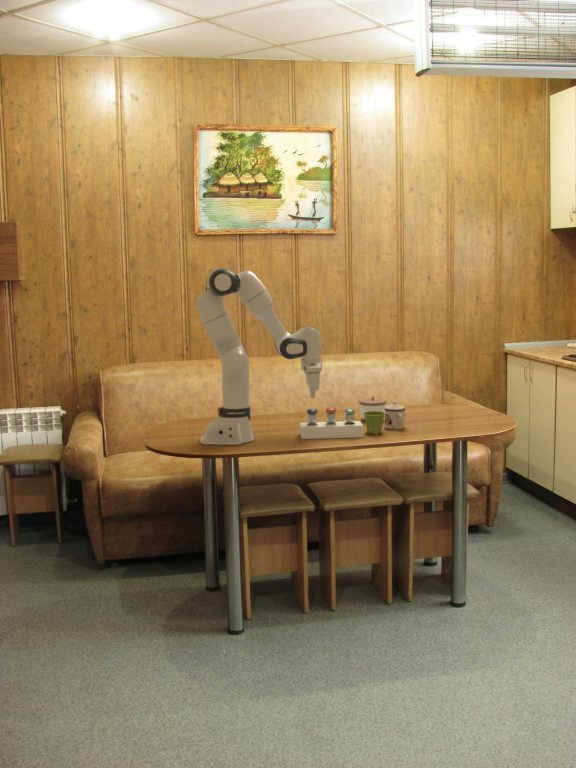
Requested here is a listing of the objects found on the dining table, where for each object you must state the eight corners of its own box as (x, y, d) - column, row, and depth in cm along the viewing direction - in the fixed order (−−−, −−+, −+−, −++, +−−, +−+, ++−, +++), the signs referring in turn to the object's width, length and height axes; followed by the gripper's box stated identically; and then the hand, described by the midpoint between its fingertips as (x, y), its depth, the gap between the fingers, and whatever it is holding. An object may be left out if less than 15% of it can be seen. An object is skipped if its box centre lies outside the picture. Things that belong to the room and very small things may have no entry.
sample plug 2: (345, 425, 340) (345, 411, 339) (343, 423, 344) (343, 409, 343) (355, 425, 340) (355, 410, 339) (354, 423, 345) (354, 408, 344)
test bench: (301, 439, 337) (301, 427, 336) (299, 434, 347) (299, 422, 346) (363, 437, 338) (363, 425, 338) (359, 432, 348) (359, 420, 347)
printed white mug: (381, 426, 360) (381, 400, 358) (399, 424, 362) (400, 399, 360) (391, 431, 348) (391, 405, 346) (411, 430, 351) (411, 403, 349)
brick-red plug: (326, 424, 339) (326, 410, 338) (325, 422, 344) (325, 408, 343) (336, 424, 340) (336, 409, 339) (335, 422, 344) (335, 407, 343)
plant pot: (368, 435, 341) (368, 415, 339) (360, 431, 350) (359, 411, 348) (388, 434, 343) (388, 414, 342) (380, 429, 352) (380, 410, 351)
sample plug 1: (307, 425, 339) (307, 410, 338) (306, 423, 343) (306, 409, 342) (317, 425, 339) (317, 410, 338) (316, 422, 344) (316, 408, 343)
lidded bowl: (362, 423, 367) (362, 399, 366) (356, 417, 380) (356, 394, 378) (389, 421, 369) (389, 398, 367) (382, 416, 381) (382, 393, 380)
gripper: (302, 362, 348) (303, 394, 350) (306, 369, 327) (307, 402, 329) (316, 362, 348) (317, 393, 350) (321, 368, 328) (322, 401, 330)
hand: (312, 398), depth 340 cm, fingers closed
